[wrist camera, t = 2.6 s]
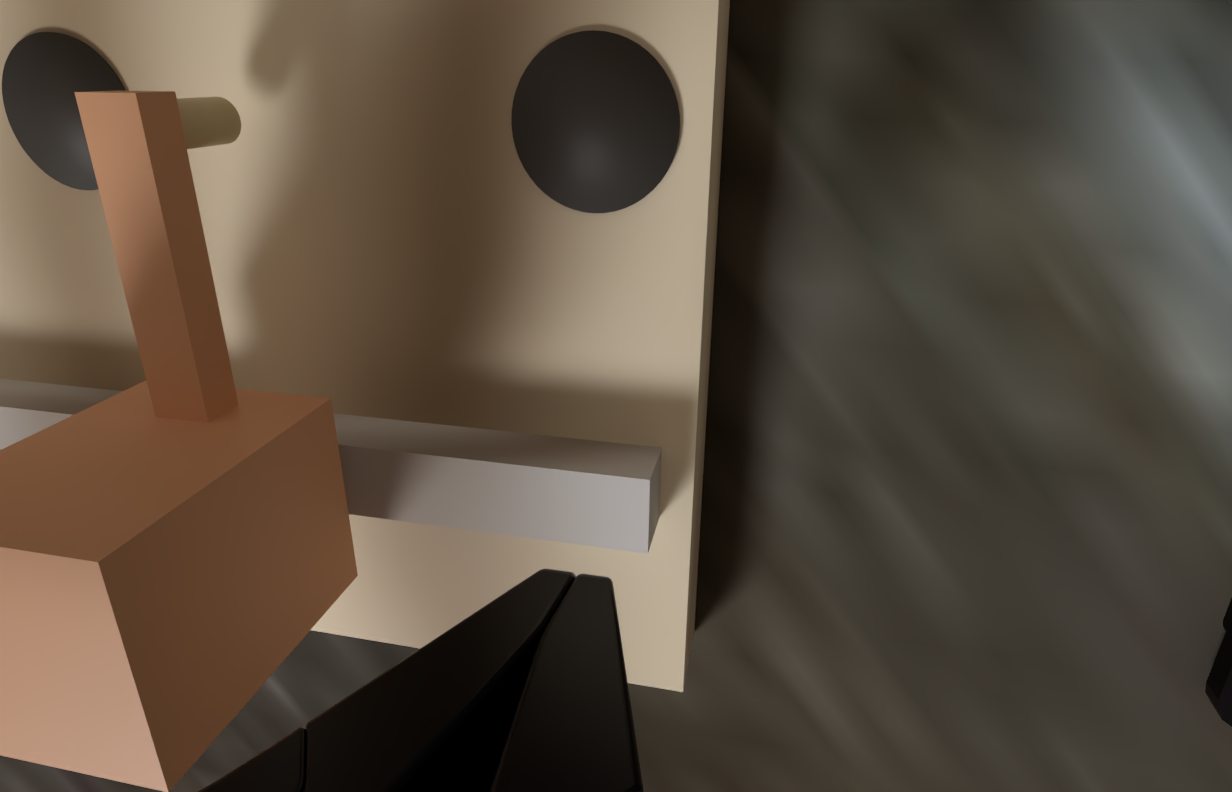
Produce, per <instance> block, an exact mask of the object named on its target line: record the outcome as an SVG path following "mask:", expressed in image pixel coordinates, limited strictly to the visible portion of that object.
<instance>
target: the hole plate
mask: <svg viewBox="0 0 1232 792" xmlns="http://www.w3.org/2000/svg"><path fill="white" fill-rule="evenodd" d="M729 10H730V0H0V450H2V449H4V448H6V447H8V446H10V445H12V444H14V443H16V442H18V441H20V440H22V439H24V438H27V437H29V436H31V435H33V434H35V433H37V432H39V431H41V430H43V429H45V428H47V427H50V426H52V425H54V424H56V423H58V422H60V421H62V420H64V419H66V418H68V417H70V416H73V415H75V414H77V413H79V412H81V411H83V410H85V409H87V408H89V407H91V406H93V405H96V404H98V403H100V402H102V401H104V400H106V399H108V398H110V397H112V396H114V395H116V394H119V393H121V392H123V391H125V390H127V389H129V388H131V387H133V386H135V385H137V384H139V383H141V382H144V381H146V377H145V373H144V369H143V365H142V361H141V357H140V353H139V349H138V345H137V341H136V337H135V333H134V329H133V325H132V321H131V317H130V313H129V309H128V305H127V301H126V297H125V293H124V289H123V285H122V281H121V277H120V273H119V269H118V265H117V261H116V257H115V253H114V249H113V245H112V241H111V237H110V233H109V229H108V225H107V221H106V217H105V213H104V209H103V205H102V201H101V197H100V193H99V189H98V185H97V181H96V177H95V173H94V169H93V165H92V161H91V157H90V153H89V149H88V145H87V141H86V137H85V133H84V129H83V125H82V121H81V117H80V113H79V109H78V105H77V101H76V97H75V93H74V92H90V91H175V93H176V98H197V97H216V96H217V97H222V98H225V99H226V100H228V101H229V102H231V103H232V104H233V106H234V107H235V108H236V110H237V111H238V114H239V116H240V120H241V132H240V135H239V137H238V138H237V139H236V140H235V141H234V142H232V143H230V144H223V145H216V146H208V147H201V148H194V149H187V152H188V157H189V162H190V167H191V172H192V177H193V182H194V187H195V192H196V197H197V202H198V207H199V212H200V217H201V221H202V226H203V231H204V236H205V241H206V246H207V251H208V256H209V261H210V266H211V271H212V276H213V281H214V286H215V291H216V296H217V300H218V305H219V310H220V315H221V320H222V325H223V330H224V335H225V340H226V345H227V350H228V355H229V360H230V365H231V370H232V375H233V380H234V384H235V388H236V389H246V390H256V391H266V392H276V393H286V394H295V395H305V396H315V397H325V398H331V401H332V407H333V414H334V421H335V427H336V434H337V440H338V447H339V454H340V460H341V467H342V474H343V480H344V487H345V494H346V500H347V507H348V513H349V520H350V527H351V533H352V540H353V547H354V553H355V560H356V566H357V573H358V576H357V577H356V578H355V579H354V581H353V582H352V583H351V584H350V585H349V586H348V587H347V589H346V590H345V591H344V592H343V593H342V594H341V595H340V597H339V598H338V599H337V600H336V601H335V602H334V604H333V605H332V606H331V607H330V608H329V609H328V610H327V612H326V613H325V614H324V615H323V616H322V617H321V618H320V620H319V621H318V622H317V623H316V624H315V625H314V626H313V628H312V629H311V630H313V631H319V632H325V633H331V634H337V635H343V636H349V637H355V638H361V639H367V640H373V641H379V642H385V643H391V644H397V645H403V646H409V647H415V648H422V647H423V646H425V645H426V644H428V643H429V642H431V641H432V640H434V639H436V638H437V637H439V636H440V635H442V634H443V633H445V632H446V631H448V630H449V629H451V628H452V627H454V626H455V625H457V624H458V623H460V622H461V621H463V620H464V619H466V618H467V617H469V616H470V615H472V614H473V613H475V612H477V611H478V610H480V609H481V608H483V607H484V606H486V605H487V604H489V603H490V602H492V601H493V600H495V599H496V598H498V597H499V596H501V595H502V594H504V593H505V592H507V591H508V590H510V589H511V588H513V587H514V586H516V585H518V584H519V583H521V582H522V581H524V580H525V579H527V578H528V577H530V576H531V575H533V574H534V573H536V572H537V571H539V570H541V569H554V570H561V571H569V572H573V573H574V574H575V575H576V576H577V575H579V574H590V575H598V576H605V577H609V578H610V579H611V580H612V582H613V587H614V594H615V601H616V608H617V614H618V621H619V628H620V635H621V641H622V648H623V655H624V662H625V669H626V675H627V682H628V683H632V684H638V685H644V686H650V687H656V688H662V689H668V690H674V691H680V692H683V690H684V684H685V679H686V674H687V669H688V663H689V658H690V653H691V648H692V643H693V637H694V627H695V610H696V592H697V574H698V557H699V539H700V522H701V504H702V486H703V469H704V451H705V433H706V416H707V398H708V381H709V363H710V345H711V328H712V310H713V292H714V275H715V257H716V239H717V222H718V204H719V187H720V169H721V151H722V134H723V116H724V98H725V81H726V63H727V46H728V28H729Z"/></svg>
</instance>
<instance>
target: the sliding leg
mask: <svg viewBox="0 0 1232 792" xmlns="http://www.w3.org/2000/svg"><path fill="white" fill-rule="evenodd" d="M74 93H75V97H76V101H77V105H78V109H79V113H80V117H81V121H82V125H83V129H84V133H85V137H86V141H87V145H88V149H89V153H90V157H91V161H92V165H93V169H94V173H95V177H96V181H97V185H98V189H99V193H100V197H101V201H102V205H103V209H104V213H105V217H106V221H107V225H108V229H109V233H110V237H111V241H112V245H113V249H114V253H115V257H116V261H117V265H118V269H119V273H120V277H121V281H122V285H123V289H124V293H125V297H126V301H127V305H128V309H129V313H130V317H131V321H132V325H133V329H134V333H135V337H136V341H137V345H138V349H139V353H140V357H141V361H142V365H143V369H144V373H145V377H146V381H144V382H141V383H139V384H137V385H135V386H133V387H131V388H129V389H127V390H125V391H123V392H121V393H119V394H116V395H114V396H112V397H110V398H108V399H106V400H104V401H102V402H100V403H98V404H96V405H93V406H91V407H89V408H87V409H85V410H83V411H81V412H79V413H77V414H75V415H73V416H70V417H68V418H66V419H64V420H62V421H60V422H58V423H56V424H54V425H52V426H50V427H47V428H45V429H43V430H41V431H39V432H37V433H35V434H33V435H31V436H29V437H27V438H24V439H22V440H20V441H18V442H16V443H14V444H12V445H10V446H8V447H6V448H4V449H2V450H0V755H2V756H6V757H11V758H15V759H20V760H24V761H29V762H33V763H38V764H42V765H47V766H51V767H56V768H60V769H65V770H70V771H74V772H79V773H83V774H88V775H92V776H97V777H101V778H106V779H110V780H115V781H119V782H124V783H128V784H133V785H137V786H142V787H146V788H151V789H156V790H160V791H165V792H169V791H170V790H171V789H172V788H173V787H174V786H175V784H176V783H177V782H178V781H179V780H180V779H181V778H182V776H183V775H184V774H185V773H186V772H187V771H188V770H189V768H190V767H191V766H192V765H193V764H194V763H195V762H196V760H197V759H198V758H199V757H200V756H201V755H202V754H203V752H204V751H205V750H206V749H207V748H208V747H209V746H210V744H211V743H212V742H213V741H214V740H215V739H216V738H217V736H218V735H219V734H220V733H221V732H222V731H223V730H224V728H225V727H226V726H227V725H228V724H229V723H230V721H231V720H232V719H233V718H234V717H235V716H236V715H237V713H238V712H239V711H240V710H241V709H242V708H243V707H244V705H245V704H246V703H247V702H248V701H249V700H250V699H251V697H252V696H253V695H254V694H255V693H256V692H257V691H258V689H259V688H260V687H261V686H262V685H263V684H264V683H265V681H266V680H267V679H268V678H269V677H270V676H271V675H272V673H273V672H274V671H275V670H276V669H277V668H278V667H279V665H280V664H281V663H282V662H283V661H284V660H285V658H286V657H287V656H288V655H289V654H290V653H291V652H292V650H293V649H294V648H295V647H296V646H297V645H298V644H299V642H300V641H301V640H302V639H303V638H304V637H305V636H306V634H307V633H308V632H309V631H310V630H311V629H312V628H313V626H314V625H315V624H316V623H317V622H318V621H319V620H320V618H321V617H322V616H323V615H324V614H325V613H326V612H327V610H328V609H329V608H330V607H331V606H332V605H333V604H334V602H335V601H336V600H337V599H338V598H339V597H340V595H341V594H342V593H343V592H344V591H345V590H346V589H347V587H348V586H349V585H350V584H351V583H352V582H353V581H354V579H355V578H356V577H357V576H358V573H357V566H356V560H355V553H354V547H353V540H352V533H351V527H350V520H349V513H348V507H347V500H346V494H345V487H344V480H343V474H342V467H341V460H340V454H339V447H338V440H337V434H336V427H335V421H334V414H333V407H332V401H331V398H325V397H315V396H305V395H295V394H286V393H276V392H266V391H256V390H246V389H236V388H235V384H234V380H233V375H232V370H231V365H230V360H229V355H228V350H227V345H226V340H225V335H224V330H223V325H222V320H221V315H220V310H219V305H218V300H217V296H216V291H215V286H214V281H213V276H212V271H211V266H210V261H209V256H208V251H207V246H206V241H205V236H204V231H203V226H202V221H201V217H200V212H199V207H198V202H197V197H196V192H195V187H194V182H193V177H192V172H191V167H190V162H189V157H188V152H187V149H194V148H201V147H208V146H216V145H223V144H230V143H232V142H234V141H235V140H236V139H237V138H238V137H239V135H240V132H241V120H240V116H239V114H238V111H237V110H236V108H235V107H234V106H233V104H232V103H231V102H229V101H228V100H226V99H225V98H222V97H217V96H216V97H197V98H176V93H175V91H90V92H74Z"/></svg>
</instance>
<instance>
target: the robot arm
mask: <svg viewBox="0 0 1232 792" xmlns="http://www.w3.org/2000/svg"><path fill="white" fill-rule="evenodd" d="M1223 626H1224V628H1225V630H1226V634H1225V636H1224V639H1223V641H1222V644H1221V646H1220V649H1219V651H1218V654H1217V657H1216V659H1215V662H1214V664H1213V667H1212V669H1211V672H1210V674H1209V677H1208V679H1207V682H1206V691H1205V692H1206V694H1207V696H1208V698H1209V700H1210V702H1211V703H1212V705H1213V706H1214V708H1215V709H1216V711H1217V713H1218V714H1219V716H1220V717H1221V719H1222V720H1223V721H1225V722H1226V723H1228V724H1229V725H1230V726H1232V599H1231V601H1230V604H1229V606H1228V609H1227V611H1226V614H1225V617H1224V619H1223ZM198 792H643V784H642V777H641V770H640V763H639V757H638V750H637V743H636V736H635V730H634V723H633V716H632V709H631V702H630V696H629V689H628V682H627V675H626V669H625V662H624V655H623V648H622V641H621V635H620V628H619V621H618V614H617V608H616V601H615V594H614V587H613V582H612V580H611V579H610V578H609V577H605V576H598V575H590V574H579V575H577V576H576V575H575V574H574V573H573V572H569V571H561V570H554V569H541V570H539V571H537V572H536V573H534V574H533V575H531V576H530V577H528V578H527V579H525V580H524V581H522V582H521V583H519V584H518V585H516V586H514V587H513V588H511V589H510V590H508V591H507V592H505V593H504V594H502V595H501V596H499V597H498V598H496V599H495V600H493V601H492V602H490V603H489V604H487V605H486V606H484V607H483V608H481V609H480V610H478V611H477V612H475V613H473V614H472V615H470V616H469V617H467V618H466V619H464V620H463V621H461V622H460V623H458V624H457V625H455V626H454V627H452V628H451V629H449V630H448V631H446V632H445V633H443V634H442V635H440V636H439V637H437V638H436V639H434V640H432V641H431V642H429V643H428V644H426V645H425V646H423V647H422V648H420V649H419V650H417V651H416V652H414V653H413V654H411V655H410V656H408V657H407V658H405V659H404V660H402V661H401V662H399V663H398V664H396V665H395V666H393V667H392V668H390V669H388V670H387V671H385V672H384V673H382V674H381V675H379V676H378V677H376V678H375V679H373V680H372V681H370V682H369V683H367V684H366V685H364V686H363V687H361V688H360V689H358V690H357V691H355V692H354V693H352V694H351V695H349V696H347V697H346V698H344V699H343V700H341V701H340V702H338V703H337V704H335V705H334V706H332V707H331V708H329V709H328V710H326V711H325V712H323V713H322V714H320V715H319V716H317V717H316V718H314V719H313V720H311V721H310V722H308V723H307V725H306V730H305V729H304V728H298V729H297V730H295V731H294V732H292V733H291V734H289V735H288V736H286V737H285V738H283V739H282V740H280V741H279V742H277V743H276V744H274V745H273V746H271V747H270V748H268V749H266V750H265V751H263V752H262V753H260V754H259V755H257V756H255V757H254V758H252V759H251V760H249V761H247V762H246V763H244V764H243V765H241V766H239V767H238V768H236V769H235V770H233V771H231V772H230V773H228V774H227V775H225V776H224V777H222V778H220V779H219V780H217V781H215V782H214V783H212V784H210V785H209V786H207V787H205V788H203V789H202V790H200V791H198Z"/></svg>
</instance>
